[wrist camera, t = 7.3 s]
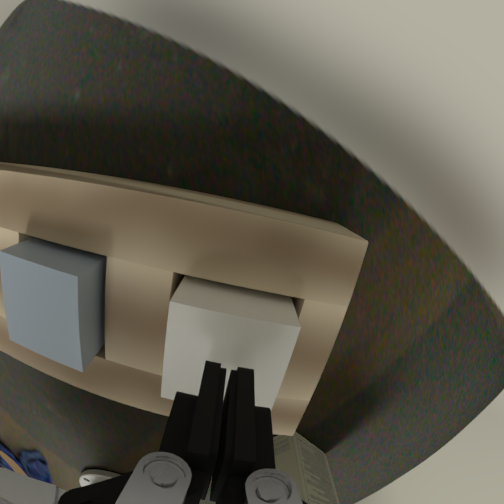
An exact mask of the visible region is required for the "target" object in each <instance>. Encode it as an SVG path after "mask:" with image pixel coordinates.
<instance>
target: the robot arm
mask: <svg viewBox="0 0 504 504" xmlns="http://www.w3.org/2000/svg"><path fill="white" fill-rule="evenodd" d="M225 379H226V368H221V363H216V362H211V361H207V360H206V361H205V366H204V371H203V375H202V380H201V385H200V390H199V394H198V396H196V395H192V394H187V393H183V392H178V391H177V392H176V395H175V398H174V401H173V405H172V408H171V411H170V415H169V418H168V422H167V425H166V428H165V432H164V435H163V439H162V442H161V446H160V449H159V452H154V453H149V454H147V455H146V456H144V457H143V458H142V459H141V460H140V461H139V462H138V464H137V466H136V468H135V469H134V471H132V472H129V473H126V474H123V475H120V474H117V473H113V472H110V471H105V470H97V469H91V470H86V471H84V472H82V474H81V476H80V478H79V482H80V485H81V487H79V488H75V489H71V490H69V491H67V490H63V489H59V488H58V487H57V486H56V485H52V484H49V483H45V482H42V481H39V480H36V479H33V478H30V477H27V476H24V475H21V474H18V473H16V472H13V471H10V470H8V469H5V468H1V467H0V504H199V502H200V499H202V500H205V498H206V494H207V491H208V487H209V484H210V481H211V477H212V483H211V493H210V501H215V502H216V504H307V503H306V502H305V501H303V500H302V499H301V497H300V494H299V491H298V487H297V485H296V483H295V481H294V480H293V479H292V478H291V477H290V476H289V475H288V474H286V473H284V472H283V471H280V470H277V469H276V467H275V455H274V443H273V431H272V419H271V410H270V408H267V407H259V406H255V390H254V369H249V368H243V367H238V368H237V370H231V372H230V376H229V380H228V384H227V388H226V392H225V396H224V389H225ZM223 398H224V401H223Z"/></svg>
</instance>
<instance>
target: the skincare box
mask: <svg viewBox="0 0 504 504" xmlns="http://www.w3.org/2000/svg"><path fill="white" fill-rule="evenodd" d="M273 443H274V455H275V467H276V469H277V470H280V471H283V472H284V473H286V474H288V475H289V476H290V477H291V478H292V479H293V480H294V481H295V483H296V485H297V487H298V491H299V494H300V497H301V499H302V500H303V501H305V502H306V503H307V504H339V501H338V498H337V494H336V490H335V487H334V483H333V480H332V476H331V472H330V469H329V465H328V462H327V458H326V455H325V453H324V452H322V451H321V450H320V449H318V448H317V447H316V446H315V445H313V444H312V443H310V442H309V441H308V440H306V439H305V438H304V437H302V436H301V435H300V434H298V433H297V432H295V433H294V435H293V436H289V435H277V436H275V437H273Z"/></svg>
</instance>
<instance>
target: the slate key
mask: <svg viewBox="0 0 504 504" xmlns="http://www.w3.org/2000/svg"><path fill="white" fill-rule="evenodd" d="M106 264H107V256H103V255H99V254H96V253H92V252H88V251H84V250H80V249H76V248H72V247H69V246H65V245H61V244H58V243H54V242H50V241H47V240H43V239H39V238H36V237H33V238H30V239H28V240H25V241H23V242H20V243H17V244H15V245H12V246H10V247H7V248H5V249H2V250H0V271H1V283H2V293H3V301H4V308H5V315H6V321H7V327H8V333H9V338H10V340H12V341H13V342H15V343H17V344H19V345H21V346H23V347H25V348H28V349H30V350H32V351H34V352H36V353H38V354H40V355H42V356H45V357H47V358H49V359H51V360H54V361H56V362H58V363H61V364H63V365H66V366H68V367H71V368H73V369H76V370H78V371H81V372H84V370H85V369H86V367H87V366H88V365H89V363H90V362H91V361H92V359H93V358H94V357H95V355H96V354H97V353H98V351H99V350H100V349H101V348H102V346H103V345H104V344H105V282H106Z"/></svg>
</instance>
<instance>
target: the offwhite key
mask: <svg viewBox="0 0 504 504" xmlns="http://www.w3.org/2000/svg"><path fill="white" fill-rule="evenodd" d="M300 329H301V326H300V323H299V320H298V317H297V314H296V311H295V308H294V305H293V302H292V299H291V297H290V296H284V295H279V294H274V293H269V292H264V291H259V290H254V289H249V288H244V287H239V286H234V285H229V284H225V283H220V282H215V281H211V280H206V279H201V278H197V277H192V276H188V275H185V276H184V278H183V280H182V281H181V283H180V285H179V286H178V288H177V290H176V292H175V293H174V295H173V297H172V298H171V300H170V303H169V312H168V320H167V329H166V339H165V349H164V360H163V372H162V385H161V397H163V398H167V399H171V400H174V398H175V395H176V392H177V391H178V392H183V393H187V394H192V395H196V396H198V394H199V390H200V385H201V380H202V375H203V371H204V366H205V361H206V360H207V361H211V362H216V363H221V368H226V379H225V389H224V396H225V392H226V388H227V384H228V380H229V376H230V372H231V370H237V368H238V367H243V368H249V369H254V390H255V406H259V407H267V408H270V410H272V407H273V405H274V402H275V399H276V397H277V394H278V391H279V389H280V386H281V383H282V381H283V378H284V375H285V372H286V370H287V367H288V364H289V361H290V358H291V356H292V353H293V350H294V347H295V344H296V341H297V338H298V335H299V332H300ZM223 401H224V398H223Z"/></svg>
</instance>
